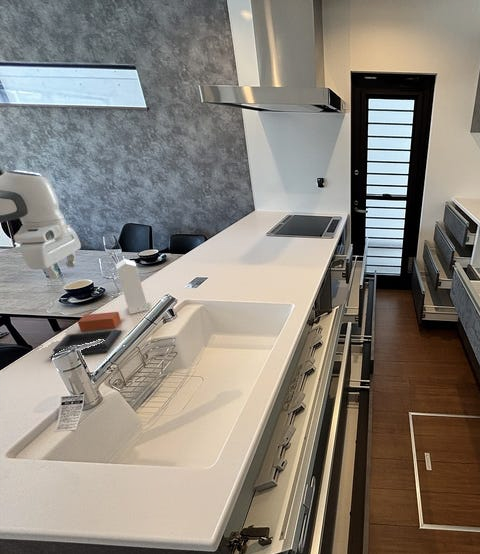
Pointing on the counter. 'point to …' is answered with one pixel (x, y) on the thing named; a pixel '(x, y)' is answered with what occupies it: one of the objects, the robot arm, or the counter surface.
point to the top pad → (99, 321)
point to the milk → (131, 286)
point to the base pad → (89, 337)
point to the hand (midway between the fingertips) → (64, 272)
